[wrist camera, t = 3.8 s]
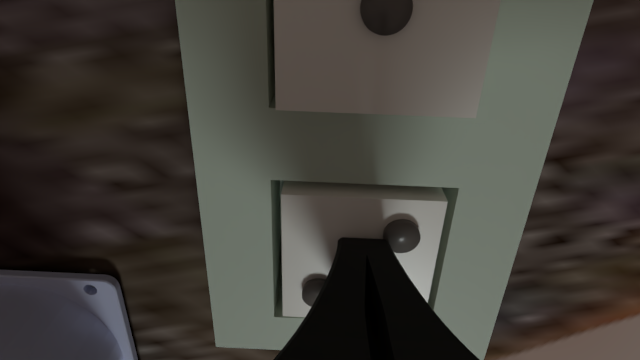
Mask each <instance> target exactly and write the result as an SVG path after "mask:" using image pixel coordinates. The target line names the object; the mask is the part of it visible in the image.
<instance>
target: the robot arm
mask: <svg viewBox="0 0 640 360" xmlns="http://www.w3.org/2000/svg"><path fill="white" fill-rule="evenodd" d="M91 285H92V286H94V287H95V288H94V287H92V286H91ZM0 360H138V357H137V353H136V349H135V345H134V341H133V337H132V333H131V329H130V325H129V321H128V317H127V313H126V308H125V304H124V300H123V296H122V292H121V288H120V284H119V282H118V281H117V280H116V279H115V278H114V277H112V276H110V275H105V274H83V273H62V272H40V271H19V270H0ZM274 360H480V359H478V358H477V357H476V356H475V355H474V354H473V353H472V352H471V351H470V350H469V349H468V348H467V347H466V346H465V345H464V344H463V343H462V342H461V341H460V340H459V339H458V338H457V337H456V336H455V335H454V334H453V333H452V332H451V331H450V329H449V328H448V327H447V326H446V325H445V324H444V323H443V321H442V320H441V319H440V318H439V317H438V316H437V314H436V313H435V312H434V311H433V309H432V308H431V307H430V306H429V304H428V303H427V302H426V300H425V299H424V298H423V296H422V295H421V294H420V292H419V291H418V289H417V288H416V287H415V285H414V284H413V282H412V281H411V279H410V278H409V276H408V275H407V273H406V272H405V270H404V269H403V267H402V265H401V264H400V262H399V260H398V259H397V257H396V255H395V254H394V252H393V250H392V248H391V246H390V244H389V243H388V242H387V240H386V239H369V238H348V237H342V238H340V239H339V240H338V245H337V251H336V254H335V258H334V261H333V263H332V266H331V269H330V271H329V273H328V276H327V278H326V280H325V282H324V285H323V287H322V289H321V291H320V292H319V294H318V296H317V298H316V300H315V302H314V303H313V305H312V307H311V309H310V310H309V312H308V314H307V315H306V317H305V318H304V320H303V321H302V323H301V324H300V326H299V327H298V329H297V330H296V332H295V333H294V334H293V336H292V337H291V338H290V340H289V341H288V342H287V344H286V345H285V346H284V348H283V349H282V350H281V351H280V353H279V354H278V355H277V356H276V357H275V359H274Z"/></svg>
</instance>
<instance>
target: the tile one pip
mask: <svg viewBox="0 0 640 360" xmlns="http://www.w3.org/2000/svg"><path fill="white" fill-rule="evenodd" d="M500 2H501V0H274V48H275V101H276V110H284V111H308V112H333V113H358V114H383V115H408V116H432V117H457V118H476V115H477V110H478V106H479V101H480V96H481V91H482V87H483V82H484V77H485V73H486V68H487V63H488V58H489V54H490V49H491V44H492V39H493V35H494V30H495V25H496V21H497V16H498V11H499V6H500Z"/></svg>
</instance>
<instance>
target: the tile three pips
mask: <svg viewBox="0 0 640 360" xmlns="http://www.w3.org/2000/svg"><path fill="white" fill-rule="evenodd" d="M447 203H448V201H447V199H446V197H445V194H444V192H443V190H442V187H424V186H401V185H377V184H354V183H330V182H307V181H284V183H283V188H282V192H281V230H282V302H283V316H290V317H306V315H307V314H308V312H309V310H310V309H311V307H312V305H313V303H314V302H315V300H316V298H317V296H318V294H319V292H320V291H321V289H322V287H323V285H324V282H325V280H326V278H327V276H328V273H329V271H330V269H331V266H332V263H333V261H334V258H335V254H336V251H337V245H338V240H339V239H340V238H342V237H348V238H369V239H386V240H387V242H388V243H389V244H390V246H391V248H392V250H393V252H394V254H395V255H396V257H397V259H398V260H399V262H400V264H401V265H402V267H403V269H404V270H405V272H406V273H407V275H408V276H409V278H410V279H411V281H412V282H413V284H414V285H415V287H416V288H417V289H418V291H419V292H420V294H421V295H422V296H423V298H424V299H425V300H426V302H427V303H428V299H429V294H430V289H431V284H432V279H433V274H434V269H435V264H436V259H437V254H438V248H439V243H440V238H441V233H442V228H443V223H444V218H445V213H446V208H447Z"/></svg>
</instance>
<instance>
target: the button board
mask: <svg viewBox="0 0 640 360" xmlns="http://www.w3.org/2000/svg"><path fill="white" fill-rule="evenodd" d="M592 4H593V0H501V2H500V6H499V11H498V16H497V21H496V25H495V30H494V35H493V39H492V44H491V49H490V54H489V58H488V63H487V68H486V73H485V77H484V82H483V87H482V91H481V96H480V101H479V106H478V110H477V115H476V118H457V117H432V116H408V115H383V114H358V113H333V112H308V111H284V110H276V101H275V48H274V0H175V5H176V13H177V22H178V30H179V39H180V47H181V55H182V64H183V72H184V81H185V89H186V98H187V106H188V115H189V123H190V131H191V140H192V148H193V157H194V165H195V174H196V182H197V190H198V199H199V207H200V216H201V224H202V233H203V241H204V249H205V258H206V266H207V275H208V283H209V292H210V300H211V308H212V317H213V325H214V334H215V342H216V347H230V348H250V349H271V350H282V349H283V348H284V346H285V345H286V344H287V342H288V341H289V340H290V338H291V337H292V336H293V334H294V333H295V332H296V330H297V329H298V327H299V326H300V324H301V323H302V321H303V320H304V318H305V317H290V316H283V302H282V230H281V192H282V188H283V183H284V181H307V182H330V183H354V184H377V185H401V186H424V187H442V190H443V192H444V194H445V197H446V199H447V201H448V203H447V208H446V213H445V218H444V223H443V228H442V233H441V238H440V243H439V248H438V254H437V259H436V264H435V269H434V274H433V279H432V284H431V289H430V294H429V299H428V304H429V306H430V307H431V308H432V309H433V311H434V312H435V313H436V314H437V316H438V317H439V318H440V319H441V320H442V321H443V323H444V324H445V325H446V326H447V327H448V328H449V329H450V331H451V332H452V333H453V334H454V335H455V336H456V337H457V338H458V339H459V340H460V341H461V342H462V343H463V344H464V345H465V346H466V347H467V348H468V349H469V350H470V351H471V352H472V353H473V354H474V355H475V356H476V357H477V358H478V359H480V360H484V357H485V354H486V351H487V347H488V344H489V341H490V338H491V334H492V331H493V328H494V325H495V321H496V318H497V315H498V311H499V308H500V305H501V302H502V298H503V295H504V292H505V288H506V285H507V282H508V279H509V275H510V272H511V269H512V266H513V262H514V259H515V256H516V252H517V249H518V246H519V243H520V239H521V236H522V233H523V230H524V226H525V223H526V220H527V216H528V213H529V210H530V207H531V203H532V200H533V197H534V194H535V190H536V187H537V184H538V180H539V177H540V174H541V171H542V167H543V164H544V161H545V158H546V154H547V151H548V148H549V144H550V141H551V138H552V135H553V131H554V128H555V125H556V121H557V118H558V115H559V112H560V108H561V105H562V102H563V99H564V95H565V92H566V89H567V85H568V82H569V79H570V76H571V72H572V69H573V66H574V63H575V59H576V56H577V53H578V49H579V46H580V43H581V40H582V36H583V33H584V30H585V27H586V23H587V20H588V17H589V13H590V10H591V7H592Z"/></svg>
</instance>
